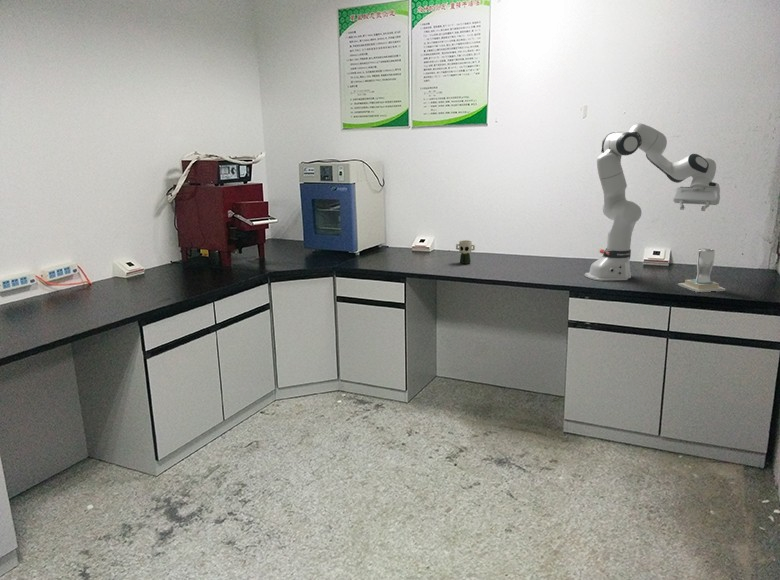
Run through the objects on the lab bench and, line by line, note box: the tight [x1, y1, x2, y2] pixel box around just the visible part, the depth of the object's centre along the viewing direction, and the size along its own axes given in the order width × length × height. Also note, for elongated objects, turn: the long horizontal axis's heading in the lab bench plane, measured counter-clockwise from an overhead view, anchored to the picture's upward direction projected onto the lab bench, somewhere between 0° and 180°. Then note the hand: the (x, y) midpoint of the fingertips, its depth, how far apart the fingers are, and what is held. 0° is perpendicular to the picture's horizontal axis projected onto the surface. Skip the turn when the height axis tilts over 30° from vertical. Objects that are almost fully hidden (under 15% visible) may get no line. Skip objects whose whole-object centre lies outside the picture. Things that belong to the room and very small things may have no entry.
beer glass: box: [695, 248, 716, 283], centre depth 264 cm, size 7×7×15 cm
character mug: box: [455, 239, 476, 265], centre depth 329 cm, size 11×7×13 cm, turn 69°
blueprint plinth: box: [677, 278, 726, 293], centre depth 267 cm, size 14×14×3 cm
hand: (692, 209), depth 277 cm, fingers open, 8 cm apart
